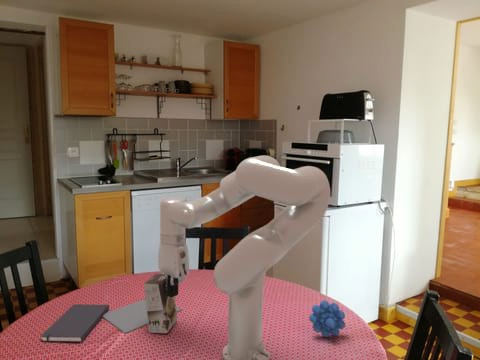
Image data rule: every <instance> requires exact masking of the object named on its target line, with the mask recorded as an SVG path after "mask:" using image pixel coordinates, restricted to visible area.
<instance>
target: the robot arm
mask: <svg viewBox="0 0 480 360" xmlns="http://www.w3.org/2000/svg"><path fill="white" fill-rule="evenodd" d="M255 196H257V197H260V198H263V199H266V200H269V201H272V202H276V203H279V204H282V205H286V207H284V209H282V210H281V212H280V213H278V215H276V216H275V217H274V218H273V219H272V220H271V221H269V223H267V224H266V225H263V226H262V227H259V228H258V229H256V230H254V231H252V232H251V233H249V234H248V235H246V236H244V238H243V239H241V240H240V241H239V242H238V243H236V245H235V246H234V247H233V248H232V249H230V250H229V252H227V253H226V254H225V255H224V256H223V257H222V258H221V259H219V261H218V262H217V263H216V265H215V266H214V270H213V275H212V276H213V281H214V285H215V287H217V289H218V290H219V291H221V292H222V293H223V294H225V295H226V294H227V295H228V322H227V323H228V325H227V328H228V329H227V330H228V331H227V334H228V336H227V340H228V341H227V344H226V345H224V347H223V349H222V354H221V355H222V358H223V360H270V358H271V356H272V354H271V353H270V352H269V351H267V349H266V347H265V343H264V342H263V341H262V340H263V339H262V338H263V337H262V336H263V335H262V334H263V304H264V303H263V302H264V285H265V280H266V279H265V278H266V273H267V271H268V270H269V269H271V267H273V266H274V265H275V264H277V263H278V262H279V261H280V260H281V259H283V258H284V256H285V255H286V254H287V253H288V251H290V249H291V248H293V247H294V246H296V244H297V243H299V242H300V241H301V240H302V239H303V238H304V237H305V236H306V235H308V233H309V232H311V231H312V230H313V229H314V227H317V225H318V223H320V221H321V220H322V219H323V217H324V215H325V214H326V212H327V209H328V207H329V204H330V200H331V187H330V181H329V180H328V177H327V175H326V173H325V172H324V171H323V170H321V169H320V168H319V167H316V166H311V165H306V166H300V167H298V168H294V169H292V168H287V167H284V166H281V165H280V163H279V161H278V160H277V159H275V158H274V157H273V156H269V155H258V156H253V157H252V156H251V157H248V158H245V159H244V160H242V161H241V162H240V163H239V164H238V166H237V167H236V169H235V170H234V171H233V172H231V173H230V174H227V175H226V176H225V177H223V178H221V180H220V182H219V187H218V188H216V189H214V190H213V191H212V192H210V193H208V194H206V195H205V196H202V197H200V198H195V199H192V200H190V201H189V200H188V201H185V199H184V198H183V197H178V196H168V197H164V198H162V199H161V201H160V206H159V207H160V209H159V213H160V215H159V218H160V220H159V223H160V224H159V225H160V227H159V230H160V231H159V233H160V234H159V235H160V236H159V238H160V239H159V249H158V258H157V259H158V263H157V264H158V269H159V271H160V274H163V275H164V276H165V280H166V283H168V284H167V296H169V297H170V298H171V297H174V296H175V297H176V296H178V295H179V284H180V283H184V282H186V276H189V274H190V259H189V258H190V257H189V250H188V245H187V243H186V229H194V228H196V227H198V226H201V225H203V224H205V223H208V222H211V221H213V220H215V219H216V218H219V217H220V216H222V215H224V214H225V213H227V212H229V211H231V210H233V208H236V207H238V206H240V205H241V204H243V203H245V202H246V201H248V200H249V199H251V198H254V197H255Z"/></svg>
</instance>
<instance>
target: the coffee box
mask: <svg viewBox="0 0 480 360" xmlns="http://www.w3.org/2000/svg"><path fill="white" fill-rule="evenodd" d="M167 284H168V283H166V280H165V276H164V275H163V274H162V273H154V274H153V275H152V276H150V278H149V279H147V281H146V282H145V283H144V284H143V285H144V295H145V299H146V307H147V315H148V332H149V333H151V334H152V333H153V334H154V333H155V334H156V333H157V334H168V333H169V331H170V330H171V329H172V328H173V326H174V325H175V323H176V322H177V321H178V312H177V311H176V307H177V304H176V296H174V297H171V298H170V297H169V296H167Z"/></svg>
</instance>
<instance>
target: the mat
mask: <svg viewBox="0 0 480 360" xmlns="http://www.w3.org/2000/svg"><path fill="white" fill-rule="evenodd" d="M182 310H183V309H181V308H180V307H178V306H176V311H177V313H179V312H182ZM102 319H104V320H106V321H107V322H109V324H111V325H113V326H114V327H115V328H117V329H118V330H119V331H121V332H124V333H123V334H129V333H131V332H133V331H136V330H138V329H140V328H143V327H145V326H147V325H148V326H149V324H148V315H147V307H146V298H145V299H141V300H139V301H135V302H133V303H130V304H128V305H124V306H121V307H119V308H115V309H114V310H110V311H107V312H106V313H105V314H104V315H103V317H102Z"/></svg>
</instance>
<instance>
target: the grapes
mask: <svg viewBox="0 0 480 360" xmlns="http://www.w3.org/2000/svg"><path fill="white" fill-rule="evenodd" d="M311 311H312V313H311V314H310V315H308V319H309V322H311V323H312V329H313V331H314V332H316V333H321V336H322V337H324V338H329V337H330V336H331V335H332V336H334V337H338V336H339V335H340V330H343V329H345V328H346V323H345V320H344V319H345V318H346V314H345V311H344V310H340V307H339V305H338V304H337V303H336V302H331V303H329V301H327V300H321V301H320V303H319V305H318V304H313V306H312V307H311Z"/></svg>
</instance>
